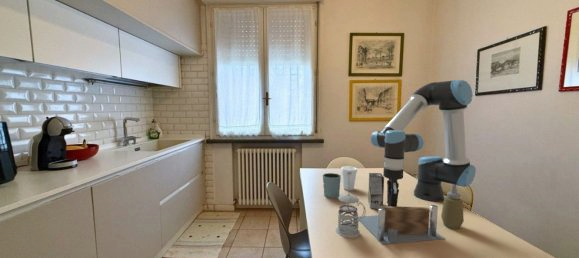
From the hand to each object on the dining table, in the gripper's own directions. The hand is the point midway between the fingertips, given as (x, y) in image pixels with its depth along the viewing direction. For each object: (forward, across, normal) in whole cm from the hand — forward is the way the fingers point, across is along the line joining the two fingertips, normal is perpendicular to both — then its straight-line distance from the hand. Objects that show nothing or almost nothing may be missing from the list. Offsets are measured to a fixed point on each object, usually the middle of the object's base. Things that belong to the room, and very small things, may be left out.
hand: (390, 223), depth 103 cm
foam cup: (+3, -49, -17) cm, 52 cm away
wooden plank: (+1, +5, +4) cm, 6 cm away
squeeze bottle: (+2, -8, +26) cm, 27 cm away
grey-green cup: (+3, -33, -27) cm, 42 cm away
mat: (+2, -1, +2) cm, 3 cm away
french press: (+2, +7, -17) cm, 18 cm away
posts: (+2, +8, +5) cm, 10 cm away
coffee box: (+2, -24, -4) cm, 24 cm away
